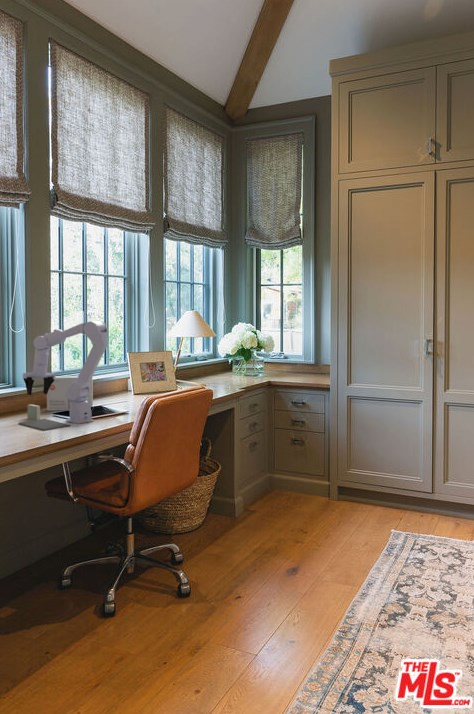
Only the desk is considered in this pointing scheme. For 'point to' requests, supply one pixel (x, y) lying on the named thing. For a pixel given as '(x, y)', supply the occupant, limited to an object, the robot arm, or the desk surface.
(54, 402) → the skincare box
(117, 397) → the desk surface
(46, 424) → the mat
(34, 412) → the tile
